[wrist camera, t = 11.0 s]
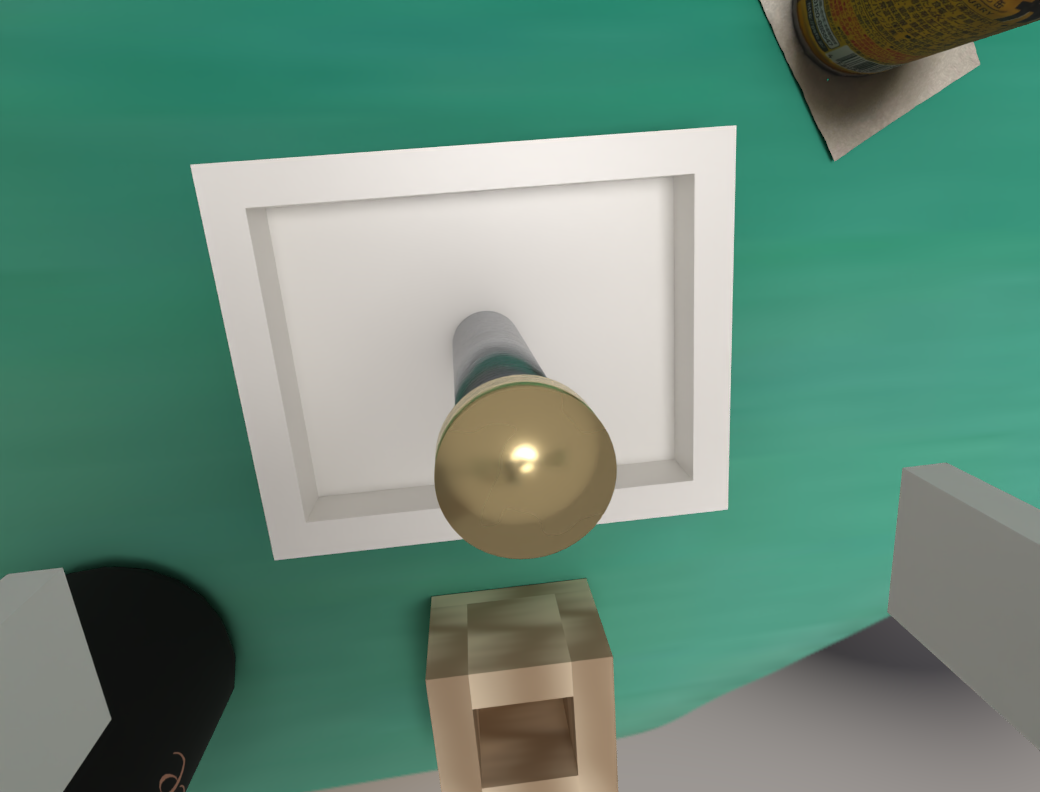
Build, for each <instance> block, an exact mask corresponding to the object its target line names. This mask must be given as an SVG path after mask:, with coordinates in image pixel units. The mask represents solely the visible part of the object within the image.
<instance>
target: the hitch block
mask: <svg viewBox="0 0 1040 792" xmlns="http://www.w3.org/2000/svg"><path fill="white" fill-rule="evenodd" d="M426 687H427V694H428V701H429V708H430V715H431V722H432V729H433V736H434V743H435V750H436V757H437V764H438V771H439V778H440V784H441V792H618V776H617V751H616V725H615V699H614V674H613V656H612V653H611V650H610V647H609V644H608V641H607V638H606V635H605V632H604V629H603V626H602V623H601V620H600V617H599V614H598V611H597V609H596V606H595V603H594V600H593V597H592V594H591V591H590V588H589V585H588V582H587V579H577V580H569V581H560V582H552V583H543V584H535V585H526V586H518V587H509V588H501V589H492V590H484V591H475V592H467V593H458V594H450V595H441V596H433V597H432V600H431V613H430V626H429V640H428V653H427V667H426Z"/></svg>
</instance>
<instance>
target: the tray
mask: <svg viewBox="0 0 1040 792" xmlns="http://www.w3.org/2000/svg"><path fill="white" fill-rule="evenodd" d="M735 164H736V126H722V127H708V128H694V129H680V130H666V131H652V132H638V133H625V134H611V135H597V136H583V137H569V138H555V139H541V140H528V141H514V142H500V143H486V144H472V145H458V146H444V147H430V148H417V149H403V150H389V151H375V152H361V153H347V154H333V155H319V156H306V157H292V158H278V159H264V160H250V161H236V162H222V163H209V164H195V165H190V166H191V171H192V175H193V180H194V185H195V189H196V194H197V199H198V203H199V208H200V213H201V218H202V222H203V227H204V232H205V236H206V241H207V246H208V250H209V255H210V260H211V264H212V269H213V274H214V279H215V283H216V288H217V293H218V297H219V302H220V307H221V311H222V316H223V321H224V326H225V330H226V335H227V340H228V344H229V349H230V354H231V358H232V363H233V368H234V373H235V377H236V382H237V387H238V391H239V396H240V401H241V405H242V410H243V415H244V419H245V424H246V429H247V434H248V438H249V443H250V448H251V452H252V457H253V462H254V466H255V471H256V476H257V481H258V485H259V490H260V495H261V499H262V504H263V509H264V513H265V518H266V523H267V527H268V532H269V537H270V542H271V546H272V551H273V556H274V560H282V559H291V558H300V557H309V556H318V555H326V554H335V553H344V552H353V551H362V550H371V549H380V548H389V547H398V546H407V545H416V544H425V543H433V542H442V541H451V540H460V539H463V538H462V537H460V536H459V535H458V534H457V532H456V531H455V530H454V529H453V528H452V527H451V526H450V524H449V523H448V521H447V520H446V519H445V517H444V515H443V513H442V511H441V509H440V506H439V503H438V500H437V497H436V491H435V483H434V469H435V452H436V444H437V440H438V435H439V432H440V430H441V427H442V425H443V423H444V421H445V419H446V417H447V416H448V414H449V413H450V411H451V410H452V409H453V407H454V406H455V396H454V370H453V345H452V343H453V337H454V333H455V331H456V329H457V327H458V326H459V324H460V323H461V322H462V321H463V320H464V319H465V318H466V317H468V316H470V315H471V314H474V313H476V312H480V311H493V312H497V313H500V314H502V315H504V316H506V317H507V318H508V319H510V320H511V321H512V322H513V324H514V325H515V327H516V328H517V330H518V331H519V333H520V335H521V336H522V338H523V340H524V341H525V343H526V344H527V346H528V348H529V349H530V351H531V353H532V354H533V356H534V357H535V359H536V361H537V362H538V364H539V366H540V367H541V369H542V371H543V372H544V374H545V375H546V377H547V378H549V379H552V380H555V381H558V382H560V383H562V384H563V385H565V386H567V387H569V388H570V389H572V390H573V391H574V392H576V393H577V394H578V395H579V396H580V397H581V398H582V399H583V400H584V401H585V402H586V403H587V404H588V406H589V407H590V408H591V409H592V411H593V412H594V413H595V415H596V416H597V417H598V419H599V420H600V421H601V423H602V424H603V426H604V427H605V429H606V431H607V432H608V434H609V436H610V439H611V441H612V444H613V447H614V451H615V455H616V463H617V477H616V483H615V489H614V492H613V495H612V498H611V501H610V503H609V505H608V507H607V509H606V511H605V513H604V514H603V516H602V517H601V519H600V520H599V521H598V523H597V524H603V523H612V522H621V521H630V520H638V519H647V518H656V517H665V516H674V515H683V514H692V513H701V512H710V511H719V510H728V480H729V435H730V390H731V345H732V300H733V255H734V209H735Z"/></svg>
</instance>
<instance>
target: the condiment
mask: <svg viewBox="0 0 1040 792" xmlns="http://www.w3.org/2000/svg"><path fill="white" fill-rule="evenodd" d="M760 1H761V4H762V6H763V8H764V11H765V13H766V16H767V18H768V20H769V22H770V23H771V25H772V27H773V30H774V33H775V36H776V38H777V40H778V42H779V45H780V47H781V49H782V50H783V52H784V54H785V58H786V60H787V62H788V63H789V65H790V67H791V69H792V71H793V74H794V76H795V78H796V80H797V81H798V83H799V85H800V86H801V88H802V90H803V93H804V97H805V99H806V101H807V104H808V106H809V108H810V110H811V113H812V115H813V117H814V120H815V122H816V124H817V126H818V128H819V130H820V131H821V133H822V135H823V137H824V138H825V140H826V143H827V145H828V148H829V150H830V152H831V155H832V157H833V159H834V161H836V160H837V159H839V158H840V157H842V156H843V155H845V154H846V153H848V152H849V151H850V150H852V149H853V148H854V147H856V146H857V145H859V144H861V143H862V142H863V141H865V140H866V139H868V138H869V137H871V136H872V135H874V134H875V133H877V132H878V131H880V130H881V129H883V128H884V127H886V126H887V125H889V124H890V123H891V122H893V121H895V120H896V119H898V118H899V117H901V116H902V115H904V114H905V113H907V112H908V111H910V110H911V109H913V108H914V107H915V106H916V105H918V104H920V103H922V102H923V101H925V100H927V99H928V98H930V97H931V96H933V95H934V94H936V93H938V92H939V91H941V90H942V89H943V88H945V87H946V86H948V85H949V84H951V83H952V82H954V81H955V80H957V79H959V78H960V77H962V76H963V75H965V74H967V73H968V72H970V71H971V70H973V69H974V68H976V67H977V66H979V65H980V62H979V59H978V56H977V54H976V49H975V46H974V43H973V42H974V41H977V40H980V39H983V38H986V37H989V36H992V35H996V34H999V33H1002V32H1004V31H1007V30H1010V29H1014V28H1017V27H1020V26H1023V25H1027V24H1029V23H1032V22H1035V21H1038V20H1040V0H760ZM828 78H829V81H827V79H828Z"/></svg>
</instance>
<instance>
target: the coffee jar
mask: <svg viewBox="0 0 1040 792" xmlns="http://www.w3.org/2000/svg"><path fill="white" fill-rule="evenodd" d="M65 576H66V579H67V582H68V586H69V589H70V592H71V595H72V598H73V601H74V604H75V607H76V610H77V614H78V617H79V620H80V623H81V626H82V629H83V632H84V635H85V639H86V642H87V645H88V648H89V651H90V654H91V657H92V660H93V663H94V667H95V670H96V673H97V676H98V679H99V682H100V685H101V688H102V691H103V695H104V698H105V701H106V704H107V707H108V710H109V713H110V716H111V721H110V722H109V724H108V725H107V727H106V728H105V730H104V731H103V733H102V734H101V736H100V737H99V739H98V740H97V742H96V743H95V745H94V746H93V748H92V749H91V751H90V752H89V754H88V755H87V757H86V758H85V760H84V761H83V763H82V764H81V766H80V767H79V769H78V770H77V772H76V773H75V775H74V776H73V778H72V779H71V781H70V782H69V784H68V785H67V787H66V788H65V790H64V791H63V792H186V790H187V787H188V785H189V783H190V781H191V779H192V777H193V775H194V773H195V771H196V768H197V766H198V764H199V762H200V760H201V758H202V756H203V754H204V751H205V749H206V747H207V745H208V743H209V741H210V739H211V737H212V735H213V732H214V730H215V728H216V726H217V724H218V722H219V720H220V718H221V716H222V713H223V711H224V709H225V707H226V705H227V702H228V700H229V698H230V696H231V694H232V691H233V689H234V681H235V653H234V650H233V647H232V644H231V642H230V639H229V636H228V633H227V631H226V628H225V625H224V624H223V622H222V619H221V618H220V617H219V615H218V614H217V613H216V612H215V611H214V609H213V608H212V607H211V606H210V604H209V603H208V602H207V601H206V599H205V598H204V597H203V596H201V595H200V594H198V593H197V592H195V591H194V590H192V589H191V588H190V587H188V586H187V585H185V584H184V583H182V582H181V581H179V580H177V579H174V578H171V577H169V576H166V575H163V574H160V573H157V572H154V571H151V570H148V569H137V568H125V567H101V568H96V569H91V570H86V571H80V572H75V573H70V574H66V575H65Z"/></svg>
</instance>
